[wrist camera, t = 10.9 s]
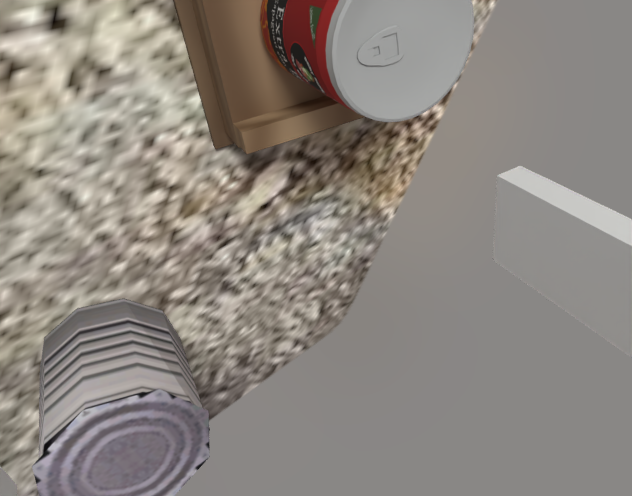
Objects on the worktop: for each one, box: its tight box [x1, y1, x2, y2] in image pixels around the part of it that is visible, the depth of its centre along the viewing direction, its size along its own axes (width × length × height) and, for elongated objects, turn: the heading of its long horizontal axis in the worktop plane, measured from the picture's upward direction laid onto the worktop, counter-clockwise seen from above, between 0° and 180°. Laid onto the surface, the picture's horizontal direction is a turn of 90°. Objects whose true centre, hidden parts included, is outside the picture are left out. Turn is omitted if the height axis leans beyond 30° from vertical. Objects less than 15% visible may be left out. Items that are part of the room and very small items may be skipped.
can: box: [32, 298, 210, 496], centre depth 40 cm, size 11×11×12 cm
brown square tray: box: [173, 0, 365, 154], centre depth 35 cm, size 16×16×6 cm
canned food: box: [260, 0, 474, 122], centre depth 29 cm, size 8×8×11 cm
